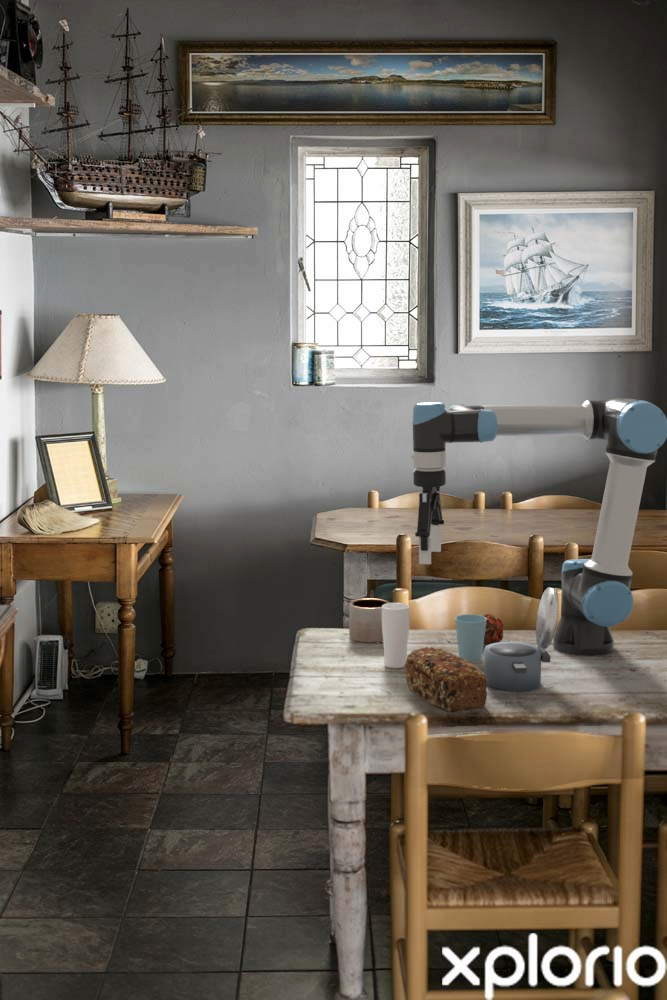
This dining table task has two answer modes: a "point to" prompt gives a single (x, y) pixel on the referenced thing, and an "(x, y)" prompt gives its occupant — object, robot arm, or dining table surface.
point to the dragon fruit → (493, 630)
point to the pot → (513, 666)
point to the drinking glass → (395, 633)
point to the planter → (366, 620)
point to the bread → (445, 679)
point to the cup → (470, 636)
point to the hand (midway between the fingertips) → (430, 557)
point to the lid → (547, 618)
